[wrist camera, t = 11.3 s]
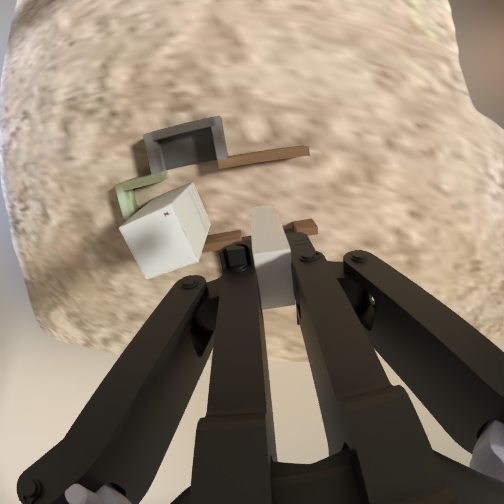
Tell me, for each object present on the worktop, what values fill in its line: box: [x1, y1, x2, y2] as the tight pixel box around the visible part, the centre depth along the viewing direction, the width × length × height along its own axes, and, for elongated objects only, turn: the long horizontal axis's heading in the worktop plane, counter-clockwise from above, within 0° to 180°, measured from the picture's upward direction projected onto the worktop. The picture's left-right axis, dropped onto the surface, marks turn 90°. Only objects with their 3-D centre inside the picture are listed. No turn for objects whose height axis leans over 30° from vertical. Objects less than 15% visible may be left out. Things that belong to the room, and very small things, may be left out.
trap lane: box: [115, 116, 318, 253], centre depth 38 cm, size 24×27×4 cm
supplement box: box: [119, 182, 211, 279], centre depth 35 cm, size 7×7×13 cm
